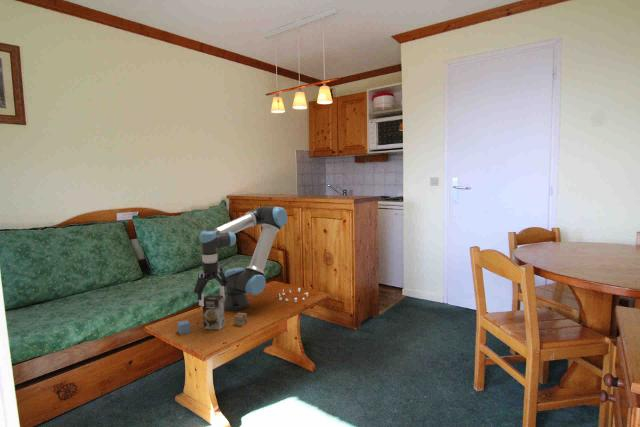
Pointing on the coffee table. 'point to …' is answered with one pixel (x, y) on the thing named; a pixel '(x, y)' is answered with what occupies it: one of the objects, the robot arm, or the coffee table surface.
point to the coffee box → (213, 312)
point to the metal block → (240, 319)
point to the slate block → (183, 327)
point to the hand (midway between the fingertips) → (212, 301)
